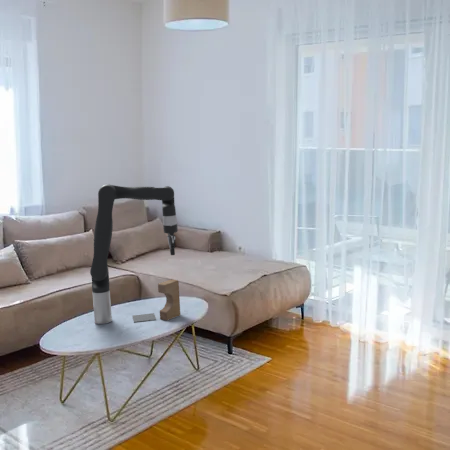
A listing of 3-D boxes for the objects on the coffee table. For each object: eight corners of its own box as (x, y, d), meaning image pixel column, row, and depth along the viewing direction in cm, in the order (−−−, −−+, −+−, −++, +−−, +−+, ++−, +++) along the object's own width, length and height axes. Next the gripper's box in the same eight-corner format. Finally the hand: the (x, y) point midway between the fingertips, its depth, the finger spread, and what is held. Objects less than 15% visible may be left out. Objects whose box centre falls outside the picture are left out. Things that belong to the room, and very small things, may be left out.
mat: (134, 322, 320) (134, 321, 320) (132, 316, 331) (132, 315, 331) (156, 320, 323) (156, 319, 323) (154, 313, 333) (153, 313, 333)
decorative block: (166, 321, 320) (164, 285, 317) (159, 319, 324) (157, 283, 321) (181, 315, 329) (179, 280, 325) (174, 313, 332) (171, 278, 329)
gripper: (161, 222, 325) (164, 253, 328) (164, 226, 312) (167, 258, 315) (175, 221, 327) (177, 251, 330) (178, 224, 314) (181, 256, 317)
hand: (172, 254), depth 323 cm, fingers closed
